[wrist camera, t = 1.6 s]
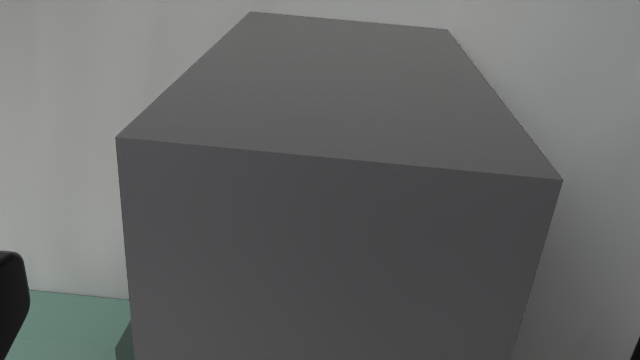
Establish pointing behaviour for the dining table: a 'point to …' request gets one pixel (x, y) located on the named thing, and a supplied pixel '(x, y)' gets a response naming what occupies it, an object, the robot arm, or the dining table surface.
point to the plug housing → (331, 200)
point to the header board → (74, 329)
